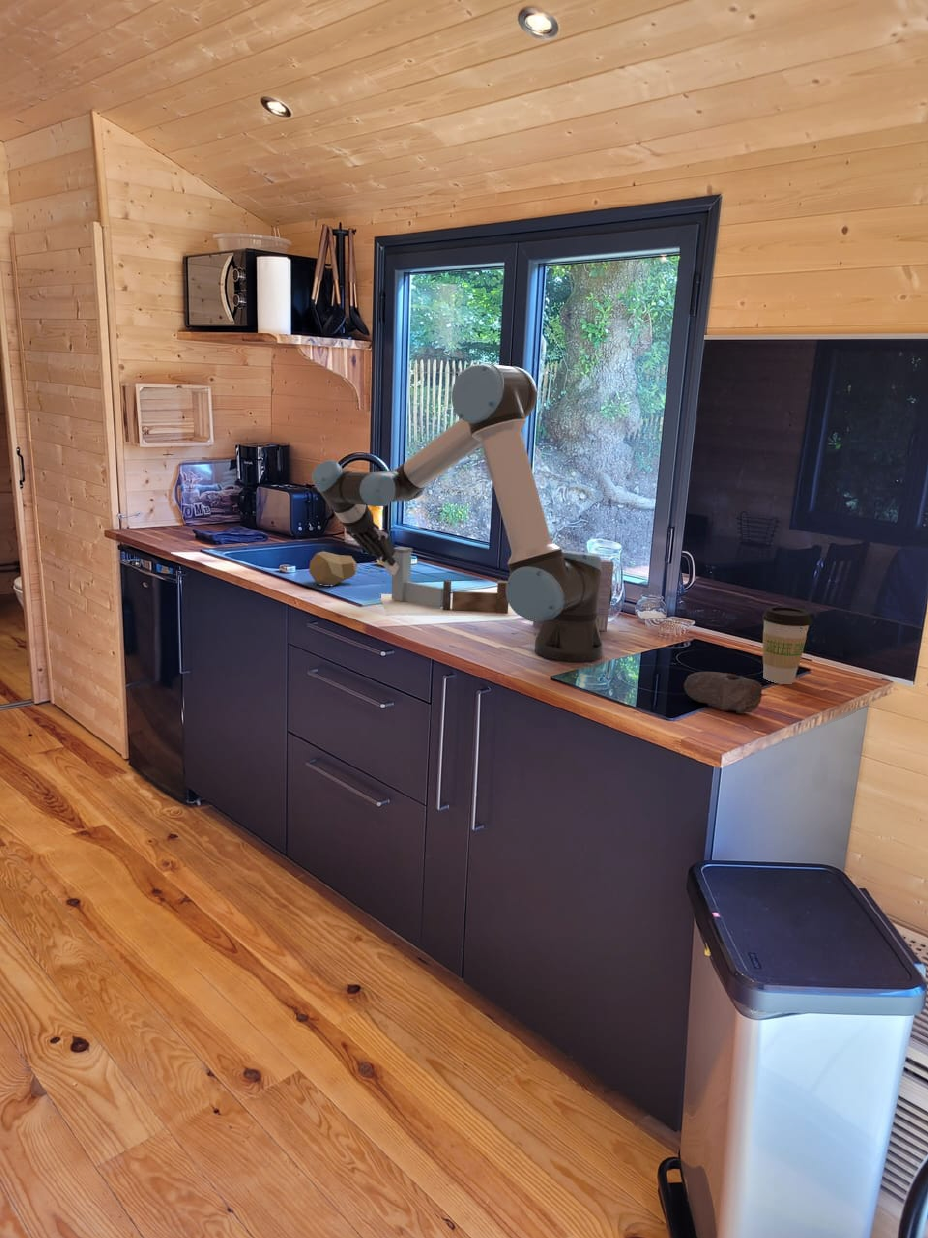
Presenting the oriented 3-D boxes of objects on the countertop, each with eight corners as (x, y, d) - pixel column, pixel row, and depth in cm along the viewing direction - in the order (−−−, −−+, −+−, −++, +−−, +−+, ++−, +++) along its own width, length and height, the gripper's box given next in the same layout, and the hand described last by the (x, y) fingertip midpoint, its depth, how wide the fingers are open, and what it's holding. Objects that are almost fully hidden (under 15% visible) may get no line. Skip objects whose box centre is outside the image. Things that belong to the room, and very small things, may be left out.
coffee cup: (776, 689, 188) (786, 618, 185) (744, 675, 197) (752, 606, 193) (813, 685, 192) (823, 615, 188) (780, 671, 201) (789, 604, 197)
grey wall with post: (446, 606, 242) (448, 554, 239) (437, 608, 239) (439, 556, 236) (399, 596, 250) (400, 546, 247) (390, 599, 247) (391, 548, 244)
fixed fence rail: (442, 610, 238) (443, 580, 236) (442, 608, 241) (443, 578, 239) (507, 613, 238) (509, 583, 236) (507, 611, 241) (509, 581, 239)
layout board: (518, 617, 237) (518, 615, 237) (386, 617, 231) (386, 614, 231) (499, 596, 260) (499, 594, 260) (378, 595, 254) (379, 593, 254)
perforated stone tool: (676, 700, 179) (680, 666, 177) (690, 694, 182) (694, 661, 181) (748, 721, 169) (752, 685, 167) (761, 715, 173) (766, 679, 171)
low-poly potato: (304, 590, 258) (338, 575, 254) (295, 554, 261) (328, 539, 256) (334, 595, 272) (366, 581, 268) (325, 561, 274) (357, 547, 270)
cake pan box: (605, 626, 233) (611, 557, 228) (612, 631, 228) (618, 561, 224) (531, 626, 230) (536, 556, 225) (536, 631, 225) (541, 560, 221)
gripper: (381, 504, 224) (420, 563, 241) (341, 498, 231) (382, 556, 248) (366, 527, 221) (407, 586, 238) (326, 521, 228) (368, 578, 245)
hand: (394, 570), depth 243 cm, fingers closed
